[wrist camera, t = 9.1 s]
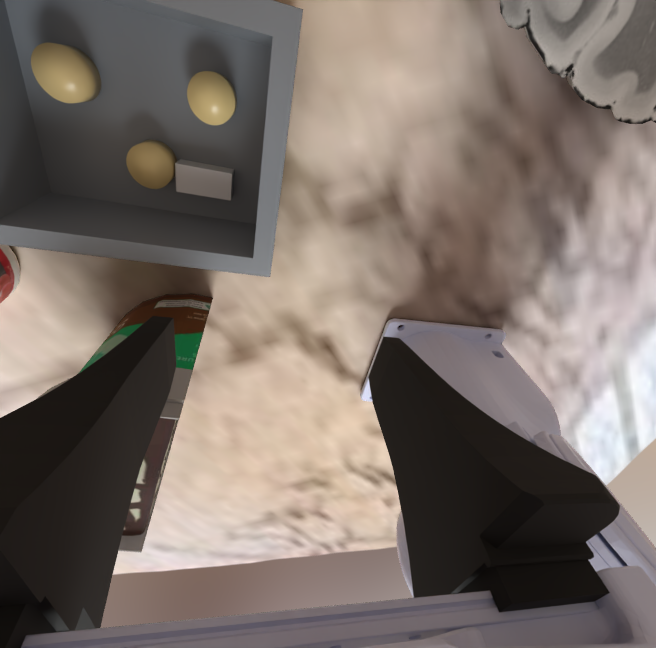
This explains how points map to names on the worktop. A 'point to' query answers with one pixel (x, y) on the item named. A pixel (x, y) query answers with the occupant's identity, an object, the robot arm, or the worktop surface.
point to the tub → (146, 128)
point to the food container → (188, 335)
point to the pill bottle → (8, 272)
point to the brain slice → (596, 49)
